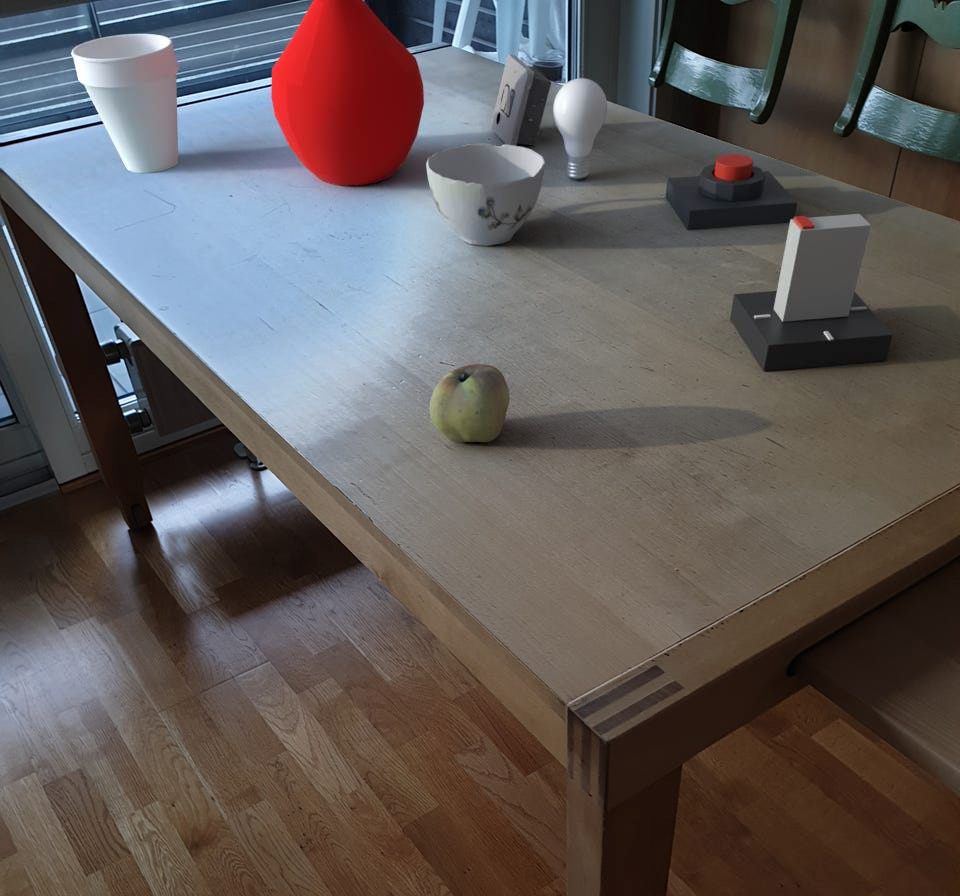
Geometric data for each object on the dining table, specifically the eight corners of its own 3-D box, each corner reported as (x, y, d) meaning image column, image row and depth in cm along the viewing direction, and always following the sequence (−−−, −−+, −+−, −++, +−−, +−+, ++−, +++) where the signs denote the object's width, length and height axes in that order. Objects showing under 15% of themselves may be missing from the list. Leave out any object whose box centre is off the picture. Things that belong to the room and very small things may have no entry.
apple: (538, 446, 77) (538, 379, 73) (440, 463, 76) (435, 396, 71) (517, 408, 81) (516, 343, 77) (424, 423, 80) (418, 358, 76)
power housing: (765, 190, 114) (771, 154, 111) (793, 222, 107) (800, 185, 104) (665, 197, 113) (668, 161, 110) (687, 231, 106) (691, 193, 103)
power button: (744, 169, 109) (746, 152, 108) (755, 181, 106) (758, 165, 105) (709, 171, 109) (711, 155, 107) (719, 184, 106) (722, 167, 105)
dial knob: (838, 304, 87) (860, 210, 81) (848, 316, 85) (871, 222, 79) (773, 309, 87) (790, 215, 81) (782, 322, 85) (801, 227, 79)
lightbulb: (541, 181, 118) (542, 81, 110) (572, 166, 122) (575, 68, 114) (582, 192, 115) (587, 90, 107) (613, 177, 118) (619, 76, 111)
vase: (275, 158, 127) (227, -128, 106) (410, 141, 131) (388, -141, 110) (295, 208, 115) (245, -107, 94) (444, 187, 118) (427, -121, 97)
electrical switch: (490, 130, 133) (495, 53, 126) (525, 129, 134) (532, 53, 128) (509, 152, 126) (515, 72, 120) (546, 151, 128) (554, 72, 121)
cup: (177, 181, 122) (148, 60, 113) (88, 179, 124) (51, 59, 115) (212, 149, 131) (188, 33, 121) (128, 147, 133) (98, 32, 123)
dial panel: (842, 309, 92) (849, 282, 90) (886, 361, 84) (894, 333, 83) (729, 318, 91) (733, 291, 89) (763, 372, 84) (768, 344, 82)
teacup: (556, 252, 103) (557, 174, 98) (441, 265, 102) (436, 187, 96) (524, 201, 114) (524, 128, 108) (420, 213, 112) (414, 139, 107)
